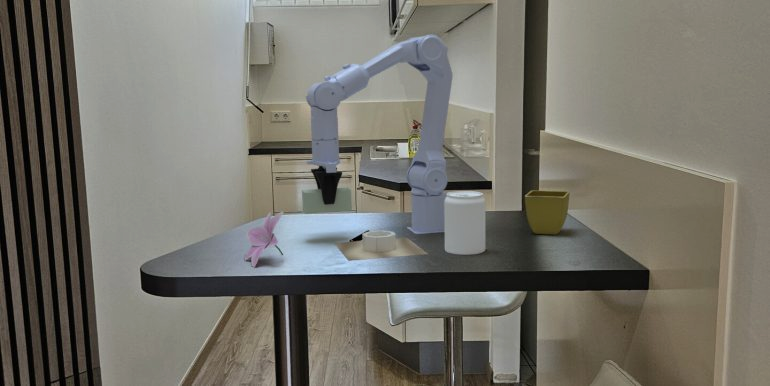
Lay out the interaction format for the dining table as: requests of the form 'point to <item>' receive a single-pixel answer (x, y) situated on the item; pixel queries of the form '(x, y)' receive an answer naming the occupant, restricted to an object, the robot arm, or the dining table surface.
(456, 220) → the beverage can
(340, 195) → the green rectangular block
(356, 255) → the mat
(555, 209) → the flower pot
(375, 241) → the white octagonal prism
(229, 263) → the dining table surface
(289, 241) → the dining table surface
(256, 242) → the lily
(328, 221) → the dining table surface
